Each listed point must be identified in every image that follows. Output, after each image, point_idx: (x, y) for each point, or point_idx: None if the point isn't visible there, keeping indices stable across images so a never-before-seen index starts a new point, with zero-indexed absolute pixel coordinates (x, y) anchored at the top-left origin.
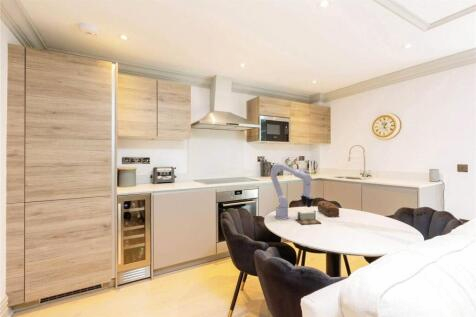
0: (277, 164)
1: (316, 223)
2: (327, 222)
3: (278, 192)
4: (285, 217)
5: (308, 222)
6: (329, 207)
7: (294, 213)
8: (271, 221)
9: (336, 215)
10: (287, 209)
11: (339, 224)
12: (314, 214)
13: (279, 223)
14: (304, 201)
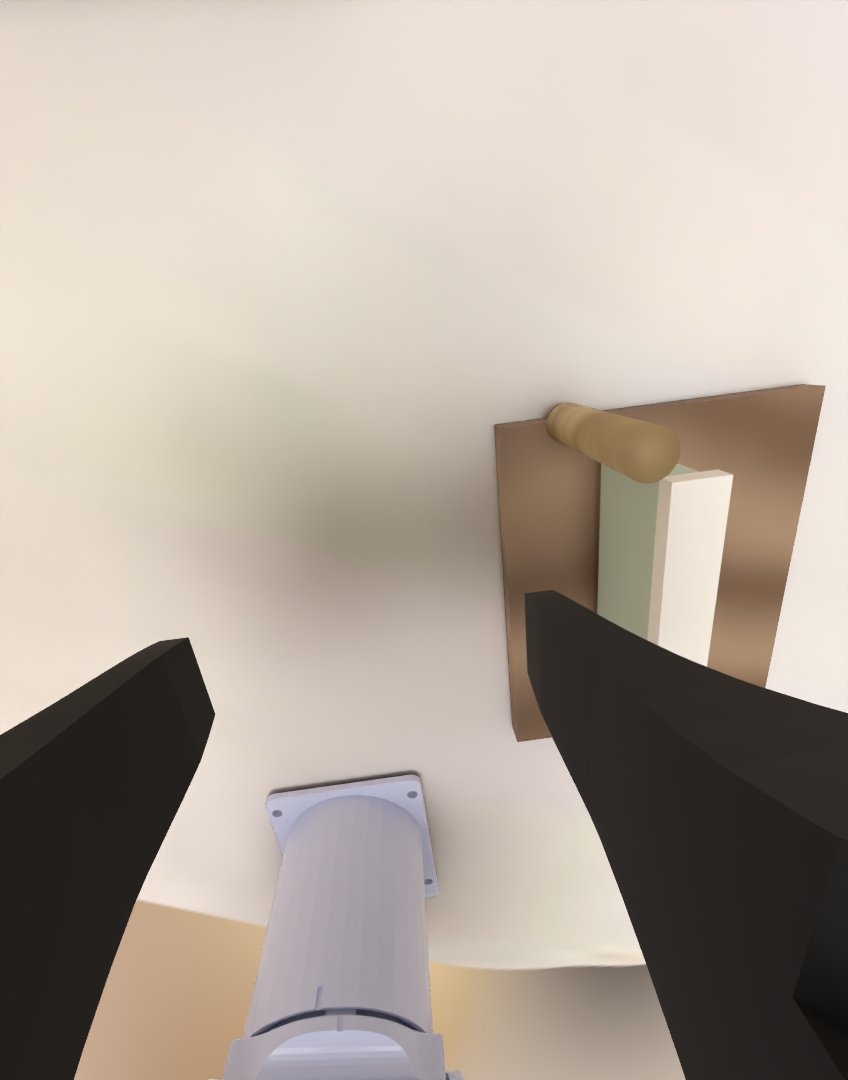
0: None
1: (794, 480)
2: (773, 197)
3: None
4: (420, 836)
5: (742, 606)
6: None
7: (85, 653)
8: (513, 945)
9: None
10: (398, 953)
11: None
12: (681, 471)
13: (603, 891)
14: (124, 801)
